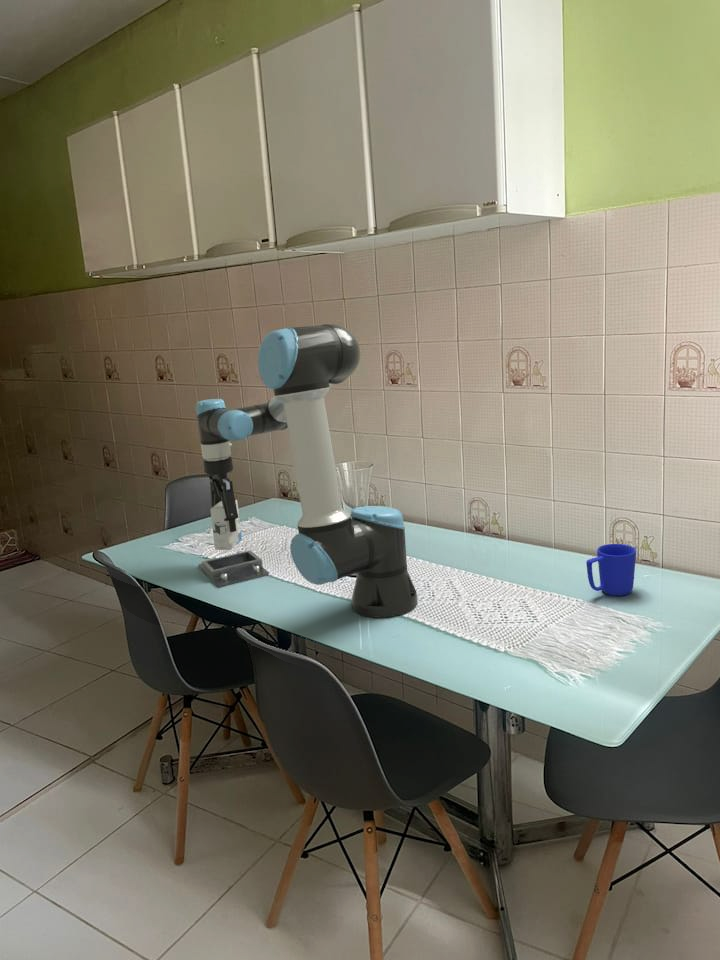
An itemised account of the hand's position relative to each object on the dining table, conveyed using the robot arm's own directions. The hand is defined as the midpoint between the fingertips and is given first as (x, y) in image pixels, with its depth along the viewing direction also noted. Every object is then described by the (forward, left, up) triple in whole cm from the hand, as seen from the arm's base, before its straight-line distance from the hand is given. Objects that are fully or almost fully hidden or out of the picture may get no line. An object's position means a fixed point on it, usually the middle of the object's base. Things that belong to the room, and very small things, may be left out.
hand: (228, 537), depth 198 cm
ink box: (0, 0, -2) cm, 2 cm away
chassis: (0, 0, -10) cm, 10 cm away
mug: (-74, -65, -10) cm, 99 cm away
